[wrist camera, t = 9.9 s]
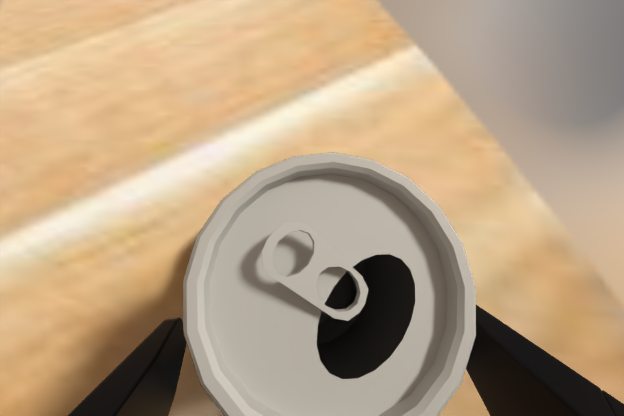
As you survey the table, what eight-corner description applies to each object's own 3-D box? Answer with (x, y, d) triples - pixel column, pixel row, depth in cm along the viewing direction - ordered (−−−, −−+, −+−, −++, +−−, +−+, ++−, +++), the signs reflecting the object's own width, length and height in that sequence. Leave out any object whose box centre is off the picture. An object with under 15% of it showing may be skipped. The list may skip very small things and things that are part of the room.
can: (320, 368, 15) (394, 657, 4) (227, 291, 16) (50, 328, 5) (385, 268, 17) (570, 250, 6) (298, 203, 18) (302, 70, 6)
